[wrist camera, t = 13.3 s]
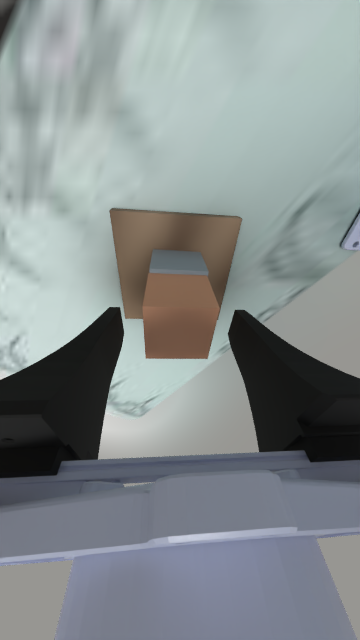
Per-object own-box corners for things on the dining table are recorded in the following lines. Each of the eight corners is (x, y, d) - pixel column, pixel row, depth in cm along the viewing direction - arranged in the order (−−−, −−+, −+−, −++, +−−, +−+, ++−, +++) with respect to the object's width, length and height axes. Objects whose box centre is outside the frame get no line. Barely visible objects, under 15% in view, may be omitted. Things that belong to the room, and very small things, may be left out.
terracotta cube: (206, 275, 13) (219, 308, 10) (199, 320, 15) (207, 358, 12) (148, 272, 13) (142, 306, 9) (150, 319, 15) (145, 358, 12)
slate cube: (200, 252, 16) (208, 271, 13) (194, 293, 18) (200, 318, 15) (152, 249, 16) (149, 268, 12) (153, 291, 18) (150, 316, 15)
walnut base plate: (238, 216, 15) (242, 218, 14) (215, 314, 21) (217, 320, 21) (112, 208, 14) (109, 210, 14) (126, 313, 21) (125, 318, 20)
